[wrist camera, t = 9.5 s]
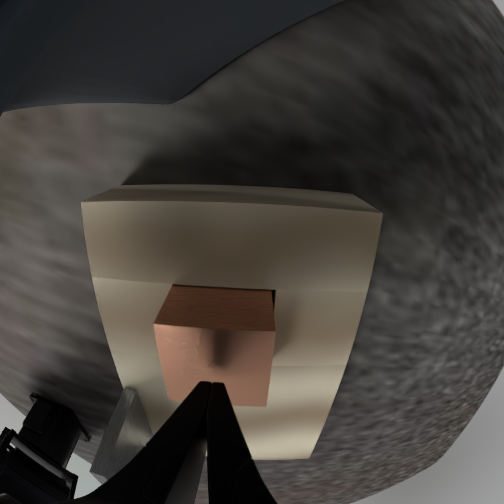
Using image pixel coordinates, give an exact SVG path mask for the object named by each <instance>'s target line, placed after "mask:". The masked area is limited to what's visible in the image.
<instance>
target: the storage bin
mask: <svg viewBox="0 0 504 504" xmlns="http://www.w3.org/2000/svg"><path fill="white" fill-rule="evenodd" d="M342 1H345V0H0V116H1V114H2V113H3V112H5V111H11V110H16V109H22V108H29V107H36V106H45V105H57V104H72V103H147V104H171V103H174V102H176V101H178V100H179V99H181V98H182V97H184V96H185V95H186V94H187V93H188V92H190V91H191V90H192V89H193V88H195V87H196V86H197V85H199V84H200V83H201V82H203V81H204V80H205V79H207V78H208V77H209V76H211V75H212V74H213V73H215V72H216V71H218V70H219V69H220V68H222V67H223V66H225V65H226V64H228V63H229V62H230V61H232V60H233V59H235V58H236V57H238V56H240V55H241V54H243V53H244V52H246V51H247V50H249V49H251V48H252V47H254V46H256V45H257V44H259V43H261V42H262V41H264V40H266V39H267V38H269V37H271V36H273V35H274V34H276V33H278V32H280V31H282V30H283V29H285V28H287V27H289V26H291V25H293V24H295V23H297V22H299V21H301V20H303V19H305V18H307V17H309V16H311V15H313V14H315V13H317V12H320V11H322V10H324V9H326V8H328V7H330V6H333V5H335V4H337V3H340V2H342Z"/></svg>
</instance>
